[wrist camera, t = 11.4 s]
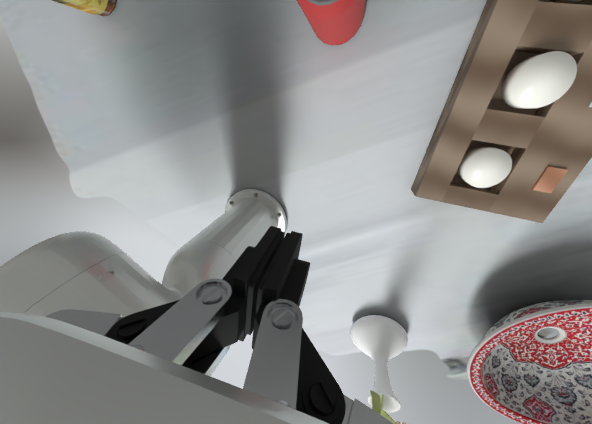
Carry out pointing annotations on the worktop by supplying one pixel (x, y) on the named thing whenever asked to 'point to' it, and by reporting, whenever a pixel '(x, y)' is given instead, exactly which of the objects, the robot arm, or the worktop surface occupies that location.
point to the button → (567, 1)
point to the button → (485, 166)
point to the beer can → (334, 18)
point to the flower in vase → (380, 357)
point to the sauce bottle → (91, 5)
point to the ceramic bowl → (537, 364)
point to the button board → (515, 112)
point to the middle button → (539, 80)
